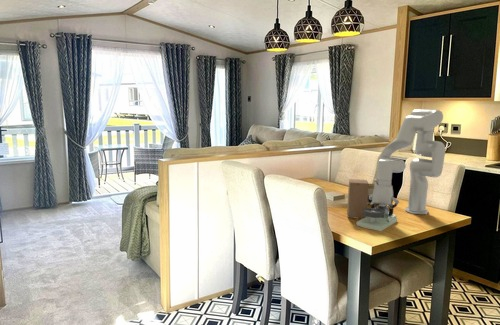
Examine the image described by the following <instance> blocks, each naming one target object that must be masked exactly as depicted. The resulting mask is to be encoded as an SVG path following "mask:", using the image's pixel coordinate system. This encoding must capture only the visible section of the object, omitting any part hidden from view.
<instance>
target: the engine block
mask: <svg viewBox="0 0 500 325" xmlns="http://www.w3.org/2000/svg"><path fill="white" fill-rule="evenodd" d="M375 208H376V209H380V210H382V211H383V216H382V217H381V218H388V213H389V209H390V207H389V205H384V204H377V206H375Z"/></svg>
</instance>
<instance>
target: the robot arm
mask: <svg viewBox="0 0 500 325" xmlns="http://www.w3.org/2000/svg"><path fill="white" fill-rule="evenodd" d="M410 113H411V114H410V115H407V116H405V117H404V119H403V120H402V123H401V125H400V127H399V131H398V132H397V135H396V137H395V139H393V141H391V142H390V143H388V144H387V145H386V146H385V147H384V148H383V150H382V151H381V154H380V156H379V158H378V161H377V166H376V167H377V169H376V171H377V172H376V178H374V180H373V182H375V183H374V184H375V185H374V189H373V194H371V195H368V201H369V203H370V204H369V205H370V208H375V207H376V204H374V203H379V204H378V205H380V204H383V205H387V206H388V207H389V212H388V213H389V216H391V215H392V214H393V215H394V208H396V207H397V206H398V205H399V204H400V201H399V200H398V199H397V198H395V197H394V189H393V188H394V187H393V185H392V179H393V173H396V174H398V173H402V172H403V171H404V170H405V169H406V166H407V164H406V162H405V161H404V160H403V159H400V158H397V157H396V158H395V157H391V156H392V154H394V153H395V152H396V151H399V150H402V149H404V148H408V147H410V146H411V145H412V143H413V141H414V139H415V136H416V141H415V148H414V149H415V150H414V151H415V154H416V155H417V156H419V157H424V158H419V157H418V158H414V159H412V160H411V161H410V163H409V174H410V180H409V181H410V182H409V184H410V185H409V192H408V204H407V207H405V209H404V210H405V212H407V213H409V214H415V215H427V214H428V213H429V210H428V209H427V208H426V207H427V198H428V187H429V182H428V178H439V177H440V176H441V175H442V172H443V168H444V162H445V155H446V146H445V144H444V143H443V142H442V141H439V140H434V128H436V127H438V126H439V125H440V124H441V123H442V122H443V120H444V114H443V112H442V111H441V110H440V109H431V108H430V109H428V108H427V109H426V108H424V109H423V108H422V109H420V108H418V109H417V108H416V109H413V110H412V111H411V112H410ZM425 158H427V159H425ZM428 158H431V159H428ZM427 177H428V178H427ZM371 197H372V200H371ZM393 202H394V204H393Z"/></svg>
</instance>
